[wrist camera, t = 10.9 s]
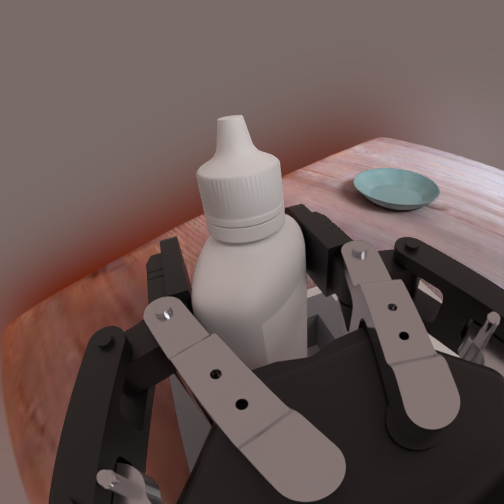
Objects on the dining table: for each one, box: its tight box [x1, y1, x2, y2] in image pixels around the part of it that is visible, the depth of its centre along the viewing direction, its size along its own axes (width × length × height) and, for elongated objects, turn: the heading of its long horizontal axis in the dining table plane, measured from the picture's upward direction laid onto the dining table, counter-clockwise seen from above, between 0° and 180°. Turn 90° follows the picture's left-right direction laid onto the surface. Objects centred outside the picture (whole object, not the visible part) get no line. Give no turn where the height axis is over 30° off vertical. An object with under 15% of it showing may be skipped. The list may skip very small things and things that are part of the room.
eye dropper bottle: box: [191, 115, 307, 370], centre depth 11 cm, size 4×6×12 cm
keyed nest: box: [169, 281, 460, 473], centre depth 16 cm, size 20×16×4 cm
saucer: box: [353, 168, 440, 210], centre depth 36 cm, size 12×12×2 cm
